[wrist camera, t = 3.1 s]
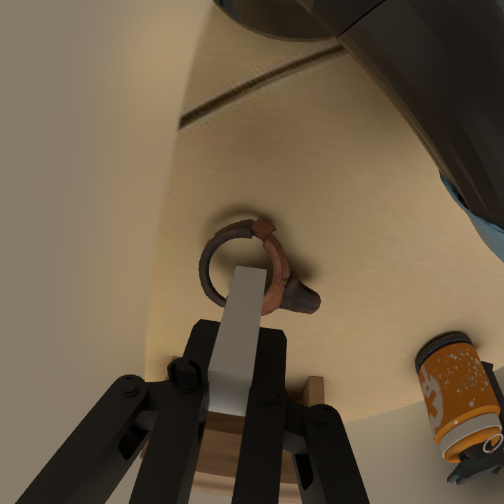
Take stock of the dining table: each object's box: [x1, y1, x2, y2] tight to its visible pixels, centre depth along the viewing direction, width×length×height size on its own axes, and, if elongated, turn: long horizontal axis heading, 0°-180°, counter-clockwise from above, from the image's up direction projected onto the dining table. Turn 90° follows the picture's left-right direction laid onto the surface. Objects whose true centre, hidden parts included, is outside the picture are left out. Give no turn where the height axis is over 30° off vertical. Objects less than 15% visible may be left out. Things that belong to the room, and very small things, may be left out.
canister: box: [416, 334, 504, 485], centre depth 29 cm, size 9×11×20 cm
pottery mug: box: [199, 219, 321, 316], centre depth 31 cm, size 12×9×8 cm
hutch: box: [140, 356, 324, 503], centre depth 38 cm, size 10×21×16 cm, turn 85°
